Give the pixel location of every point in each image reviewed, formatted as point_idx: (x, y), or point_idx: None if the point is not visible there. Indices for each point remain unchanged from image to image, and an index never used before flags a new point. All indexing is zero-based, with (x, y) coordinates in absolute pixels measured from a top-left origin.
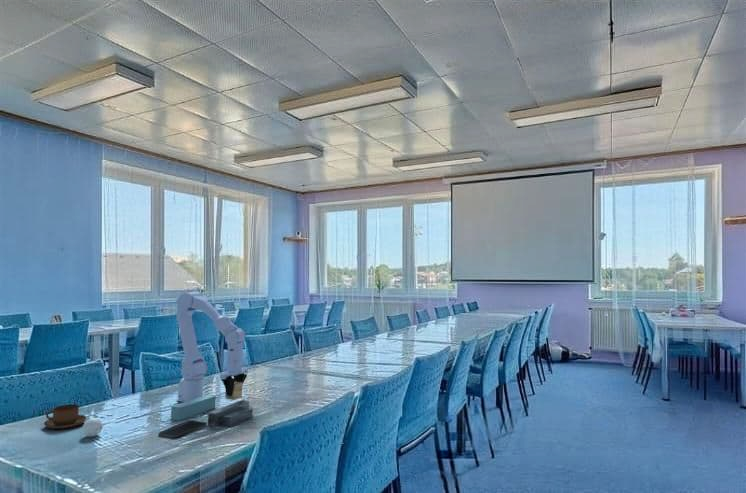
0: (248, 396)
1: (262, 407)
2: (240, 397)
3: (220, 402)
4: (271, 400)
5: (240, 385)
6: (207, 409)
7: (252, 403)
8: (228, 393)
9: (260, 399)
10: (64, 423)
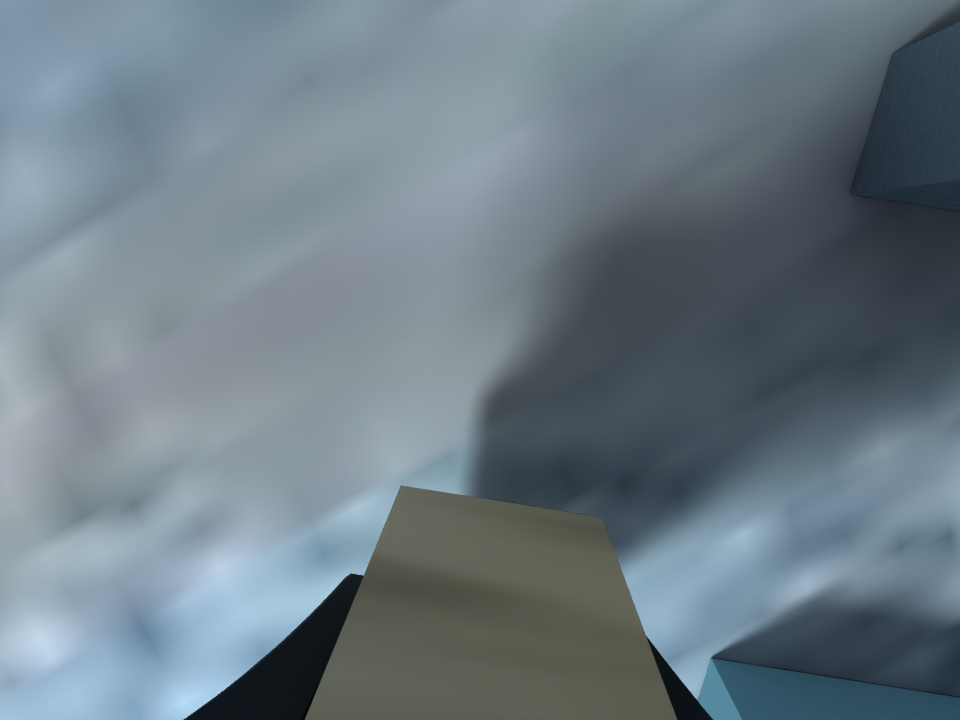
0: (53, 536)
1: (502, 6)
2: (438, 493)
3: None
4: (67, 80)
5: (415, 668)
6: (863, 693)
7: (349, 297)
8: None
9: (103, 292)
10: None
